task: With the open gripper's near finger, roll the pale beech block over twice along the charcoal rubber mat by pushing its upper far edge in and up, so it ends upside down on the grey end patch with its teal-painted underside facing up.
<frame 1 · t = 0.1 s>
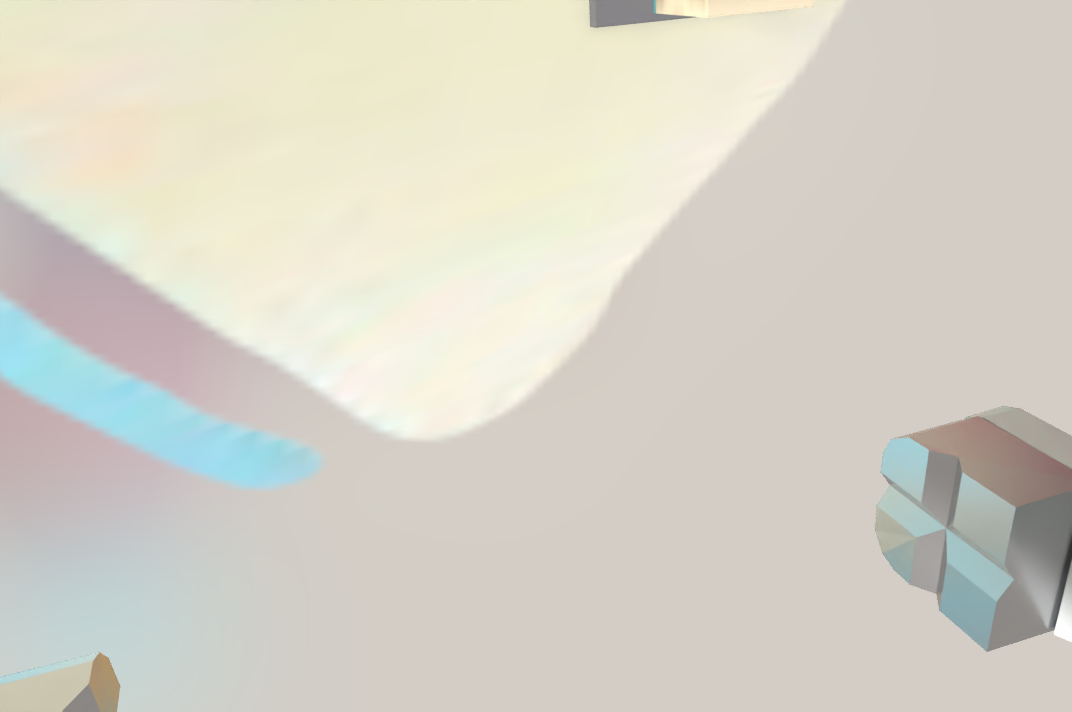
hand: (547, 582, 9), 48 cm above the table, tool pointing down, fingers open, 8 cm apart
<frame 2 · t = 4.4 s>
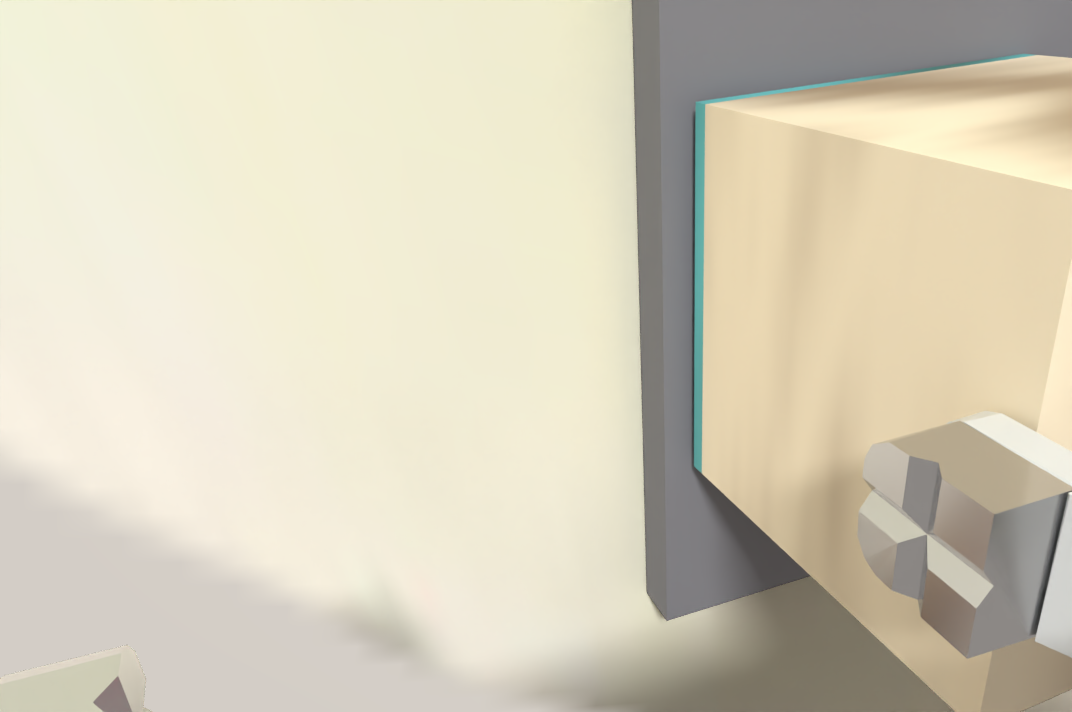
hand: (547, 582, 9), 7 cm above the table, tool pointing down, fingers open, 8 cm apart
beech block: (854, 265, 16), point 1 cm above the table, touching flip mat, gripper
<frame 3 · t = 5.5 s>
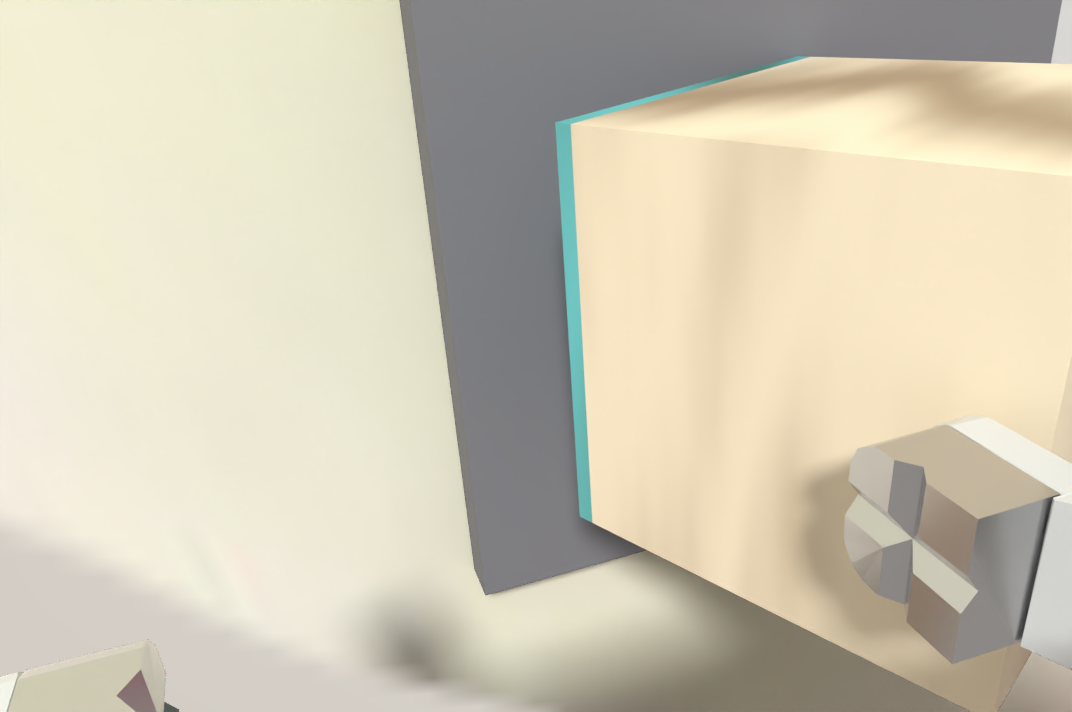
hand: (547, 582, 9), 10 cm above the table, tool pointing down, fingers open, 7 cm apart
beech block: (692, 276, 16), point 3 cm above the table, tilted 28°, touching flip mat, gripper
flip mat: (971, 178, 21), on the table
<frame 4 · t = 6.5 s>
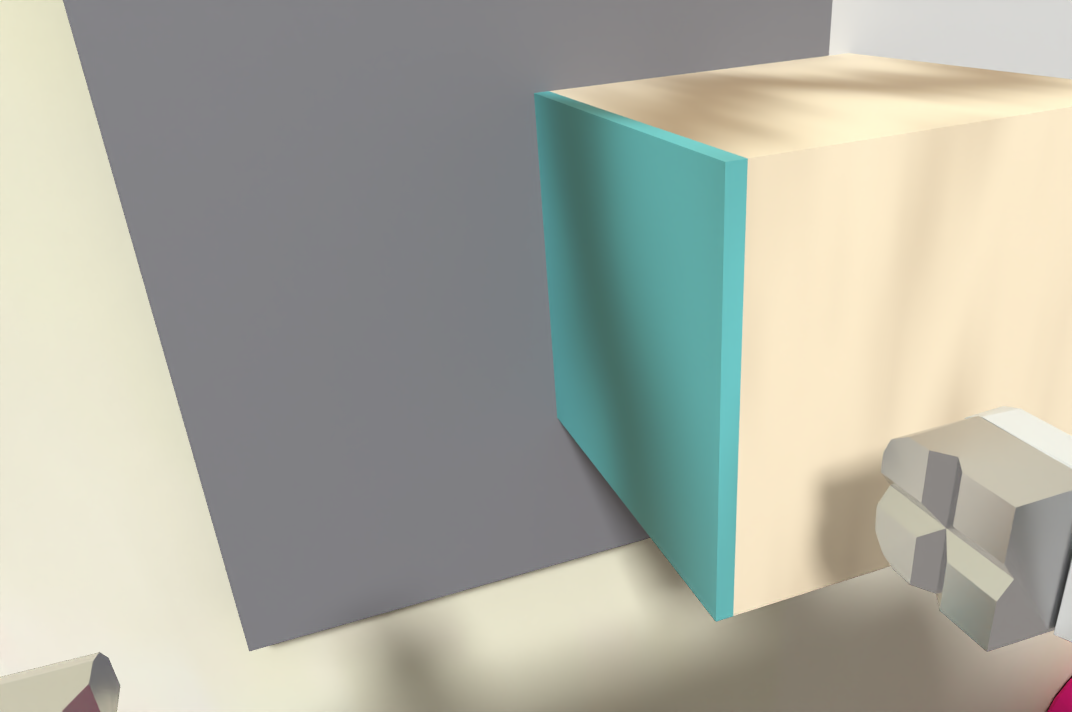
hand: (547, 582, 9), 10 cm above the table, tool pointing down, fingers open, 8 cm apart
beech block: (615, 329, 15), point 4 cm above the table, tilted 90°, touching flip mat
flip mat: (764, 213, 20), on the table
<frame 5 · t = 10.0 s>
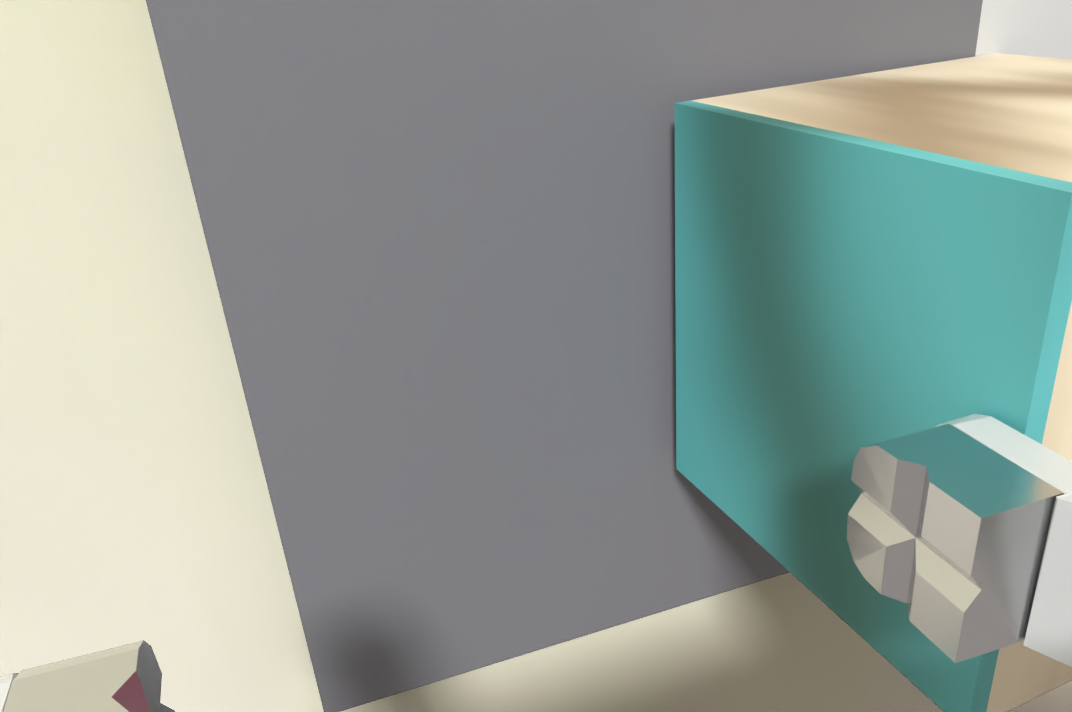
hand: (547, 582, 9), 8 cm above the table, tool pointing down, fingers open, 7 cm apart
beech block: (803, 380, 12), point 5 cm above the table, tilted 94°, touching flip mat, gripper
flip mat: (886, 229, 18), on the table
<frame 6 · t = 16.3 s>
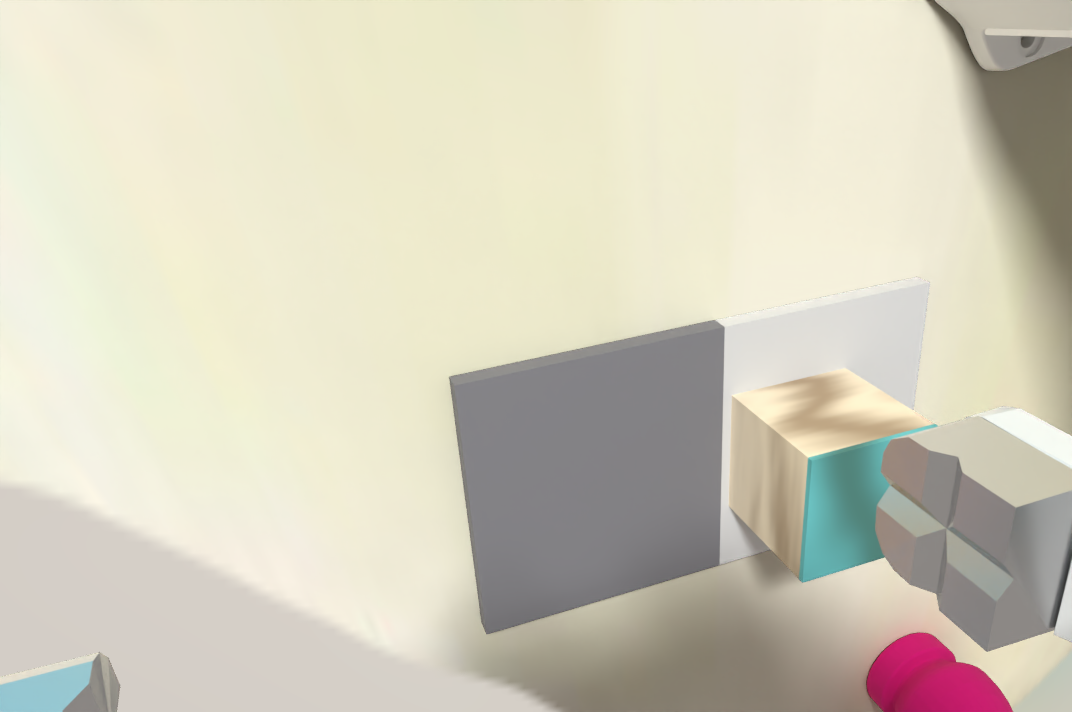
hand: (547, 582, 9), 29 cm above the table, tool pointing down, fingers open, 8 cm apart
pepper mill: (900, 665, 61), on the table
beech block: (869, 505, 41), point 8 cm above the table, tilted 180°, touching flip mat
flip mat: (700, 448, 47), on the table
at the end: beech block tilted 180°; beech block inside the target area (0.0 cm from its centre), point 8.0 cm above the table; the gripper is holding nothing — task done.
